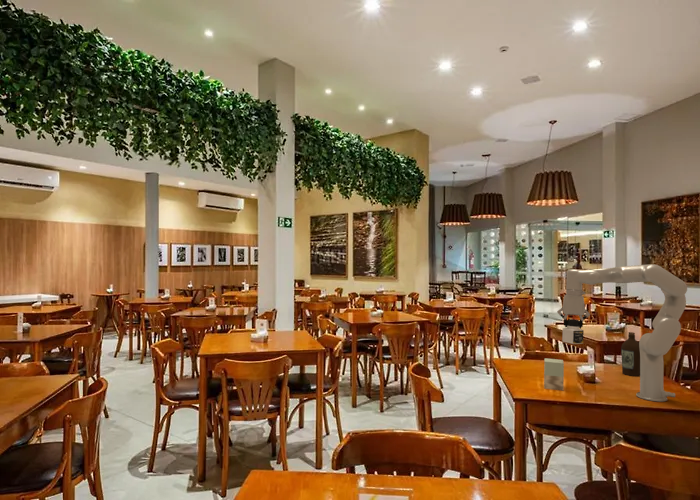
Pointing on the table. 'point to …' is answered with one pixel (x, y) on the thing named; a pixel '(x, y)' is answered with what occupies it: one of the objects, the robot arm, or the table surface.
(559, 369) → the top block
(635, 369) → the olive oil
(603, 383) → the table surface
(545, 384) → the bottom block
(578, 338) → the medicine bottle
